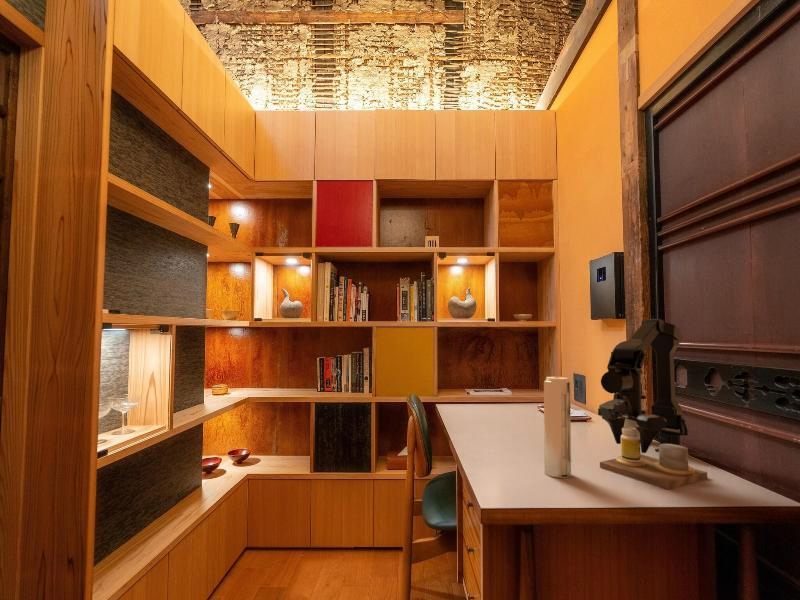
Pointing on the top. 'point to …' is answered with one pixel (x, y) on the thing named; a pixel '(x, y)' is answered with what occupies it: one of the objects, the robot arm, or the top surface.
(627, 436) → the supplement bottle
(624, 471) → the board
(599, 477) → the top surface
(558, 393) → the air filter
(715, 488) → the top surface
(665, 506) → the top surface
